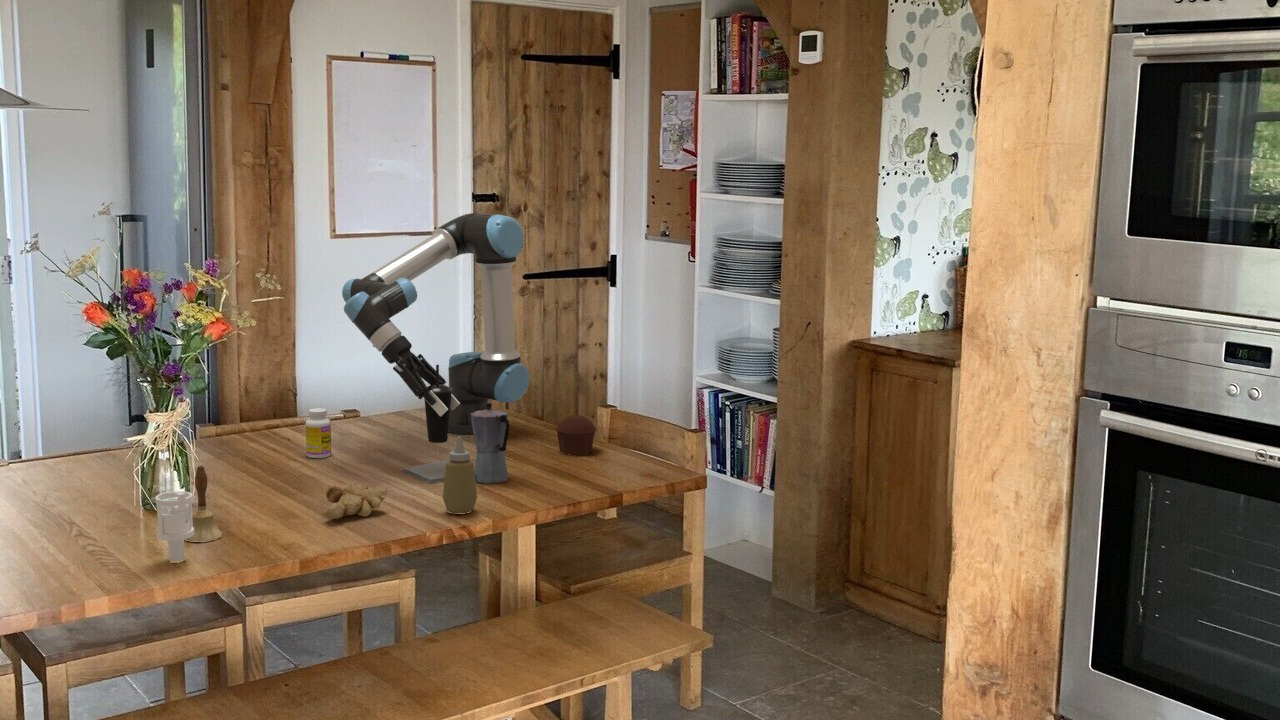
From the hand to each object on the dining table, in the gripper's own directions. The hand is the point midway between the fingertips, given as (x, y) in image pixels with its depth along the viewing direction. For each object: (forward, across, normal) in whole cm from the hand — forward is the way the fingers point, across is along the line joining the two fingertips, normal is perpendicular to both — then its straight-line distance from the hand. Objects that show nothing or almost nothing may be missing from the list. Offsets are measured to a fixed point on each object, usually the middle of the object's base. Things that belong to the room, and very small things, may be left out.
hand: (450, 409), depth 322 cm
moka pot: (+21, +2, -4) cm, 21 cm away
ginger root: (+6, +37, -19) cm, 42 cm away
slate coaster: (+10, -1, -14) cm, 18 cm away
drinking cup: (+4, 0, -9) cm, 9 cm away
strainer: (-6, +78, -32) cm, 85 cm away
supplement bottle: (-17, -7, -42) cm, 46 cm away
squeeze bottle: (+23, +29, -2) cm, 37 cm away
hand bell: (-9, +63, -34) cm, 73 cm away
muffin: (+29, -33, +4) cm, 44 cm away
